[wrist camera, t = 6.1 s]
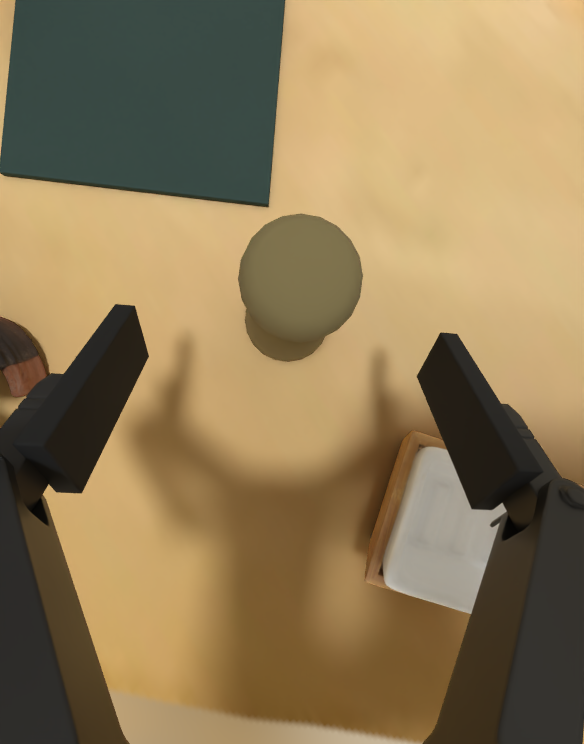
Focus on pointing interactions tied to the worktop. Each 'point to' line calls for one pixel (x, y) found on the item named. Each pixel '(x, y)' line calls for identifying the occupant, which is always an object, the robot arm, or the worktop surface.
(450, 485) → the soap dish
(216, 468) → the worktop surface
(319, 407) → the worktop surface
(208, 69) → the mat
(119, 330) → the robot arm
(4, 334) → the pottery mug
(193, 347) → the worktop surface
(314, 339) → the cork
